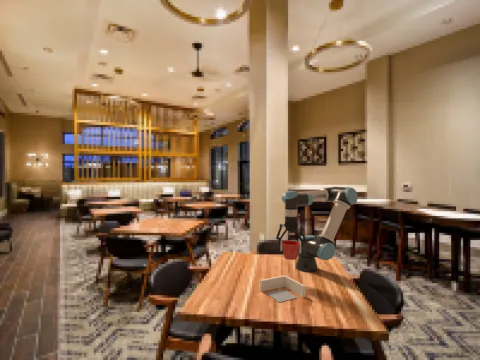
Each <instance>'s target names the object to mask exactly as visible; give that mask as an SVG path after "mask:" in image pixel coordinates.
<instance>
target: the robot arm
mask: <svg viewBox="0 0 480 360" xmlns="http://www.w3.org/2000/svg"><path fill="white" fill-rule="evenodd" d="M281 195H282V196H281V200H282V202H283V204H284V215H285V216H284V223H280V224H279V229H278V231H277V234H276V237H275V239H276V240H278V246H280V252H283V247H282V242H283V237H284V236H285V234H286V233H287V232H294V233H295V234H296V236H297V237H298V241H297V242H299V243H300V247H299V252H298V256H297V259H296V263H295V269H297V270H299V271H300V272H301V271H302V272H308V273H312V272H317V271H318V269H319V267H318V263H317V260H316V259H319V260H322V261H331V260H332V259H333V258H334V256H335V254H336V246H335V244H336V243H335V240H334V239H335V237H336V234H337V233H338V230H339V228H340V226H341V225H342V221H343V218H344V217H345V214H346V212H347V210H350V208H351V207H352V205H355V204H356V203H358V198H359V197H358V192H357V190H356V189H355V188H353V187H350V186H331V187H325V188H320V189H318V190H306V191H296V190H286V191H285V192H284V193H283V194H281ZM313 202H330V203H333V207H332V208H331V211H330V213H329V216H328V218H327V220H326V223H325V224H324V227H323V229H322V231H321V234H318V235H317V237H316V235H313V234H311V235H310V234H309V235H307V234H306V235H305V232H304V229H303V224H298V207H301V206H302V207H303V206H304V207H307V206H311V205H312V204H313ZM282 228H285V229H284V231H283V232H282V233H281V231H282ZM297 228H299V230H300V233H301V234H300V233H299V231H298V229H297ZM280 234H281V236H280Z"/></svg>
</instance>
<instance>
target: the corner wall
mask: <svg viewBox="0 0 480 360" xmlns="http://www.w3.org/2000/svg"><path fill="white" fill-rule="evenodd" d="M280 288H286V289H288V290H289V291H291V292H293V293H295V295H298V296H300V297H301V298H306V285H305V284H302V283H301V282H299V281H297V280H296V279H293V278H292V277H290V276H288V275H277V276H274V277H269V278H263V279H260V280H259V291H260V292H267V291H271V290H275V289H280Z"/></svg>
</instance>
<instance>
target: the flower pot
mask: <svg viewBox="0 0 480 360" xmlns="http://www.w3.org/2000/svg"><path fill="white" fill-rule="evenodd" d="M299 247H300V243H299V242H298V241H296V240H289V239H288V240H282V252H283V257H284V259H285V260H289V261H294V260H297V259H298V252H299Z"/></svg>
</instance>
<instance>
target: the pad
mask: <svg viewBox="0 0 480 360" xmlns="http://www.w3.org/2000/svg"><path fill="white" fill-rule="evenodd" d="M265 294H266V295H268V296H269V297H270V298H271V299H273V300H275V301H276V302H277V303H283V302H287V301H291V300H295V299H298V296H296V295H294V294H293V293H291V292H290V291H288V290H287V289H285V288H282V289H277V290H273V291H269V292H266V293H265Z"/></svg>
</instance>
